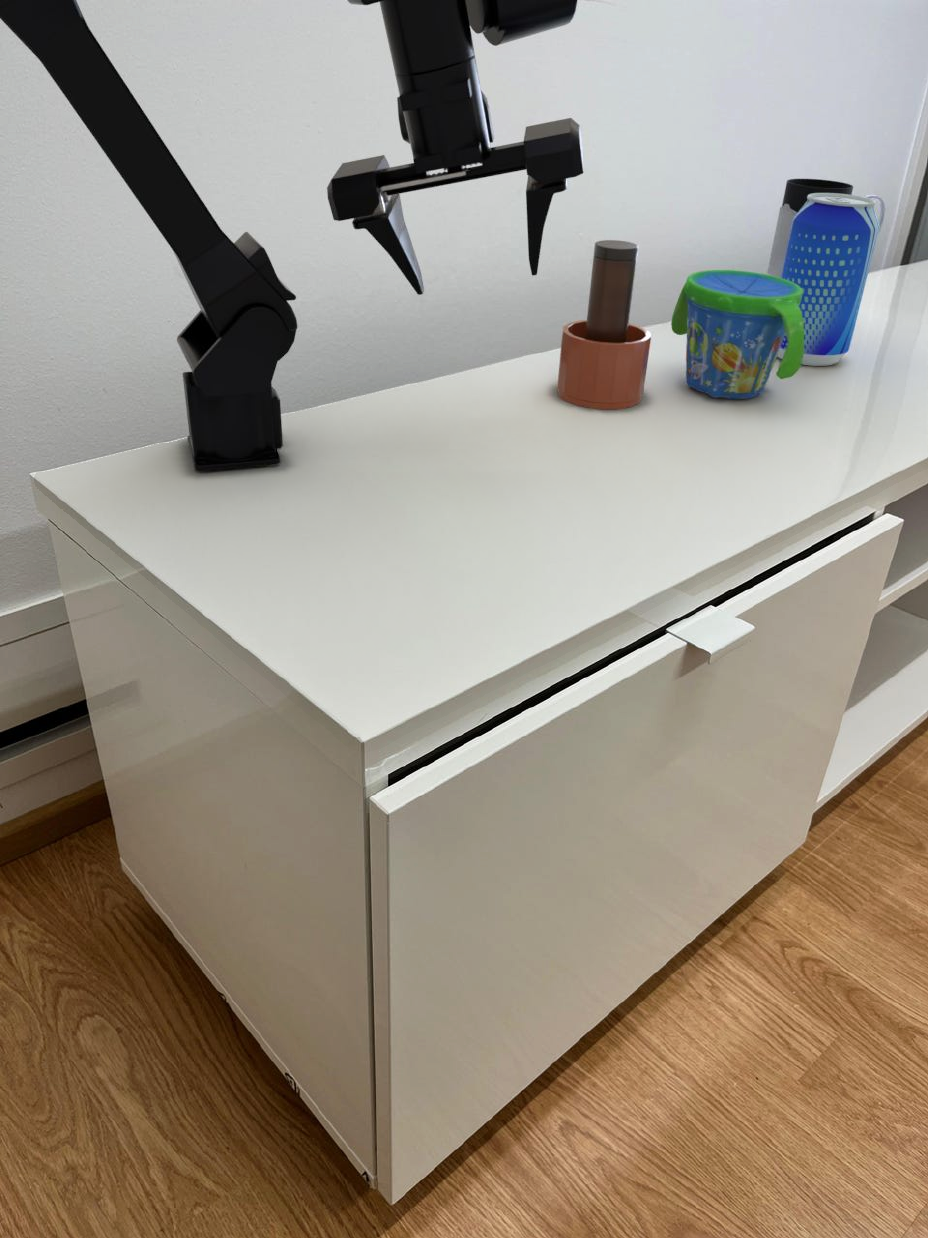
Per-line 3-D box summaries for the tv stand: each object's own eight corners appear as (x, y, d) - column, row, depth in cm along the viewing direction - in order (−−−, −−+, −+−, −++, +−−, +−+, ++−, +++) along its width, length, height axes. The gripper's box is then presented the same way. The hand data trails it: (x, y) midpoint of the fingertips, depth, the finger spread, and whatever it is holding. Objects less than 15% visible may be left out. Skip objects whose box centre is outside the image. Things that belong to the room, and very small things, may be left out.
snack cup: (820, 410, 92) (847, 299, 86) (727, 422, 88) (749, 306, 82) (721, 361, 104) (740, 261, 98) (636, 369, 100) (650, 265, 95)
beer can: (854, 354, 108) (894, 198, 99) (834, 373, 102) (875, 208, 93) (779, 340, 111) (811, 188, 103) (755, 357, 105) (787, 197, 97)
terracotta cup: (577, 412, 88) (584, 346, 85) (544, 383, 95) (549, 321, 92) (656, 406, 91) (666, 341, 88) (618, 378, 97) (626, 317, 94)
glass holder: (742, 305, 124) (767, 177, 117) (839, 302, 128) (869, 177, 120) (779, 324, 117) (808, 189, 109) (880, 320, 121) (915, 189, 113)
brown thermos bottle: (608, 398, 90) (626, 250, 83) (572, 389, 92) (587, 244, 85) (626, 388, 93) (645, 244, 86) (591, 379, 95) (607, 238, 88)
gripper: (568, 17, 73) (593, 229, 82) (330, 69, 76) (380, 267, 86) (567, 43, 64) (595, 277, 73) (298, 100, 68) (358, 317, 77)
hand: (477, 283), depth 78 cm, fingers open, 9 cm apart
